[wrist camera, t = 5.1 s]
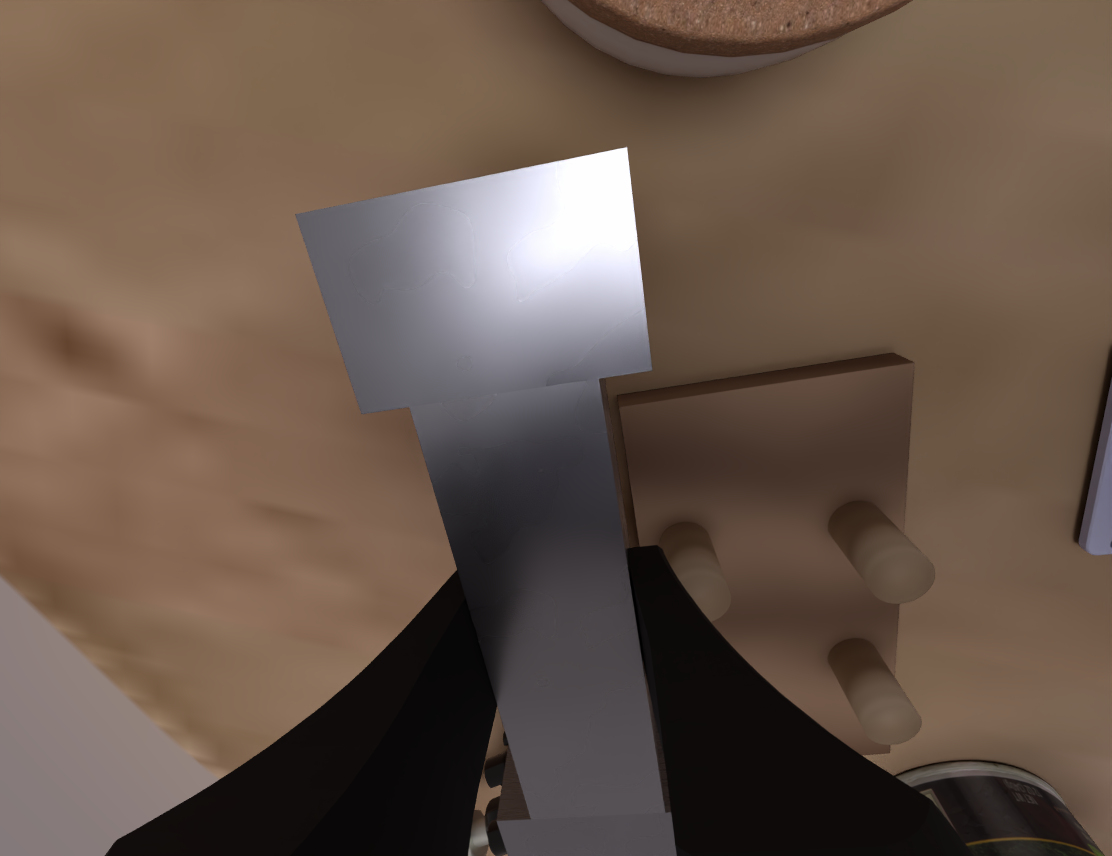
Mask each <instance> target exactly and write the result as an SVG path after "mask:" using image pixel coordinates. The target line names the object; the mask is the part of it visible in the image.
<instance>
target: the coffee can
mask: <svg viewBox="0 0 1112 856" xmlns="http://www.w3.org/2000/svg"><path fill="white" fill-rule="evenodd" d="M895 777H896V778H898V779H899V780H901V781H903V782H904V783H906V784H907V785H909V786H911V787H912V788H914V789H915V790H917V791H918V792H920V793H922V794H923V795H925V796H926V797H928V798H930V799H931V800H932V801H933V802H934V803H935V804H936V806H937V807H938V808H939V810H940V811H941V812H942V813H943V815H944V816H945V817H946V819H947V820H948V821H949V822H950V824H951V825H952V826H953V828H954V829H955V830H956V832H957V833H958V834H959V836H960V837H961V838H962V840H963V841H964V843H965V844H966V845H967V847H968V848H969V849H970V851H971V852H972V854H973V855H974V856H1105V855H1104V854H1103V853H1102V852H1101V850H1100V849H1099V848H1098V846H1097V845H1096V844H1095V842H1094V841H1093V840H1092V839H1091V838H1090V836H1089V835H1088V833H1087V832H1086V831H1085V830H1084V829H1083V827H1082V826H1081V825H1080V824H1079V823H1078V821H1077V820H1076V819H1075V818H1074V816H1073V815H1072V814H1071V812H1070V811H1069V810H1068V808H1067V807H1066V804H1065V802H1064V801H1063V799H1062V798H1061V796H1060V795H1059V794H1058V793H1057V792H1056V791H1055V790H1054V789H1053V788H1052V787H1051V786H1050V785H1049V784H1047V783H1046V782H1045V781H1043V780H1042V779H1040V778H1038V777H1037V776H1035V775H1033V774H1031V773H1029V772H1026V771H1024V770H1021V769H1018V768H1015V767H1012V766H1008V765H1003V764H997V763H988V762H978V761H957V762H947V763H939V764H934V765H929V766H925V767H920V768H917V769H914V770H911V771H907V772H905V773H903V774H900V775H898V776H895Z"/></svg>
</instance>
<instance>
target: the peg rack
mask: <svg viewBox="0 0 1112 856" xmlns="http://www.w3.org/2000/svg"><path fill="white" fill-rule="evenodd" d="M914 364H915V363H914V362H912V361H910V360H908V359H906V358H904V357H902V356H900V355H897V354H895V353H890V354H883V355H877V356H870V357H864V358H857V359H851V360H844V361H838V362H831V363H825V364H818V365H811V366H805V367H798V368H792V369H785V370H779V371H772V372H766V373H759V374H753V375H746V376H740V377H733V378H727V379H720V380H714V381H707V382H701V383H694V384H688V385H681V386H675V387H668V388H662V389H655V390H649V391H642V392H636V393H629V394H623V395H617V397H618V404H619V411H620V418H621V424H622V431H623V438H624V445H625V451H626V458H627V465H628V472H629V478H630V485H631V492H632V498H633V505H634V512H635V519H636V525H637V532H638V539H639V546H640V547H642V546H651V545H658V546H659V547H660V548H662V549H663V551H664V554H665V556H666V558H667V560H668V562H669V564H670V566H671V567H672V569H673V571H674V572H675V574H676V576H677V577H678V579H679V580H680V582H681V583H682V585H683V586H684V588H685V589H686V591H687V592H688V593H689V595H690V596H691V597H692V599H693V600H694V601H695V603H696V604H697V605H698V607H699V608H700V609H701V611H702V612H703V613H704V614H705V616H706V617H707V618H708V619H709V621H710V622H711V623H712V624H713V625H714V626H715V628H716V629H717V630H718V631H719V632H720V633H721V634H722V636H723V637H724V638H725V639H726V640H727V641H728V642H729V643H730V644H731V646H732V647H733V648H734V649H735V650H736V651H737V652H738V653H739V654H740V655H741V656H742V657H743V658H744V659H745V660H746V661H747V662H748V663H749V664H750V665H751V666H752V667H753V668H754V669H755V670H756V671H757V672H758V673H759V674H760V675H761V676H763V677H764V678H765V679H766V680H767V681H768V682H769V683H770V684H771V685H773V686H774V687H775V688H776V689H777V690H778V691H779V692H780V693H781V694H783V695H784V696H785V697H786V698H787V699H789V700H790V701H791V702H792V703H794V704H795V705H796V706H797V707H799V708H800V709H801V710H802V711H804V712H805V713H806V714H807V715H809V716H810V717H811V718H812V719H814V720H815V721H816V722H817V723H819V724H820V725H821V726H822V727H824V728H825V729H826V730H827V731H829V732H830V733H831V734H833V735H834V736H835V737H837V738H838V739H840V740H841V741H842V742H844V743H845V744H847V745H848V746H849V747H851V748H852V749H853V750H855V751H856V752H858V753H859V754H860V755H871V754H885V753H890V745H894V744H899V743H903V742H905V741H907V740H909V739H911V738H912V737H914V736H915V735H916V734H917V733H918V732H919V730H920V728H921V724H922V721H921V717H920V715H919V714H918V712H917V711H916V709H915V708H914V706H913V705H912V703H911V702H910V700H909V698H908V697H907V695H906V694H905V692H904V691H903V689H902V688H901V686H900V685H899V683H898V682H897V680H896V678H895V665H896V649H897V634H898V618H899V604H901V603H906V602H910V601H913V600H915V599H917V598H919V597H921V596H922V595H923V594H925V593H926V592H927V591H928V590H929V589H930V587H931V586H932V584H933V582H934V579H935V569H934V566H933V564H932V563H931V562H930V561H929V560H928V559H927V557H926V556H925V555H924V554H923V553H922V552H921V551H920V550H919V549H918V548H917V547H916V546H915V545H914V544H913V543H912V542H911V541H910V540H909V539H908V538H907V537H906V536H905V535H904V522H905V507H906V491H907V475H908V459H909V443H910V427H911V411H912V395H913V380H914Z"/></svg>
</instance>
